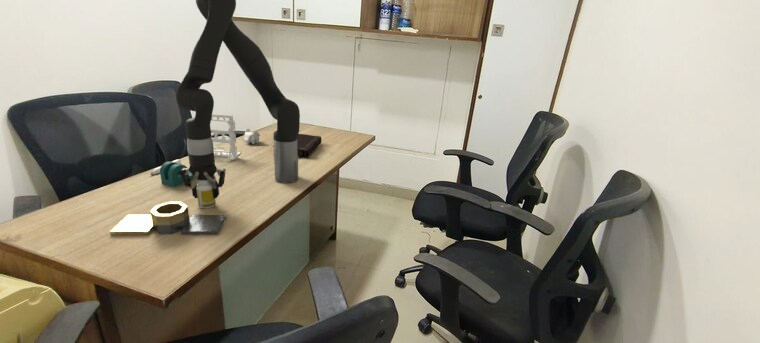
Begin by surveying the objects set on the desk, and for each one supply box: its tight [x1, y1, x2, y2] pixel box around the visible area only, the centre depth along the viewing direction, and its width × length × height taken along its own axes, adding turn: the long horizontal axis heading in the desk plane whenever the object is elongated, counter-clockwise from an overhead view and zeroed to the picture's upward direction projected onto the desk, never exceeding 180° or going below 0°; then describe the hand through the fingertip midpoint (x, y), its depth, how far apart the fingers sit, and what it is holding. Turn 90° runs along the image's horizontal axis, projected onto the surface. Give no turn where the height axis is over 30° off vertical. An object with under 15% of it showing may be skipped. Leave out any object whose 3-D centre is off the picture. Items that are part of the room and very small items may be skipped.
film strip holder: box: [211, 113, 242, 163], centre depth 164 cm, size 14×14×20 cm
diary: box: [272, 133, 322, 159], centre depth 184 cm, size 19×25×5 cm
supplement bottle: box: [196, 180, 217, 209], centre depth 121 cm, size 5×5×10 cm
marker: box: [149, 159, 182, 176], centre depth 148 cm, size 3×2×16 cm
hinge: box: [109, 201, 227, 236], centre depth 108 cm, size 29×10×6 cm, turn 98°
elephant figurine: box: [241, 128, 261, 145], centre depth 187 cm, size 8×10×7 cm
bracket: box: [159, 161, 194, 188], centre depth 141 cm, size 18×7×8 cm, turn 155°
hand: (206, 197), depth 122 cm, fingers closed on supplement bottle, 5 cm apart
